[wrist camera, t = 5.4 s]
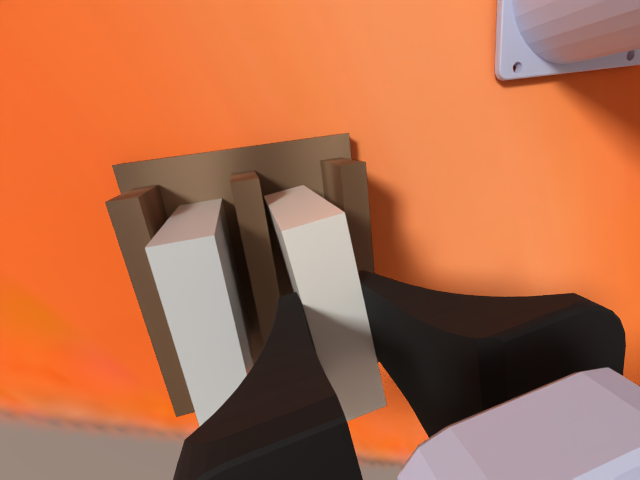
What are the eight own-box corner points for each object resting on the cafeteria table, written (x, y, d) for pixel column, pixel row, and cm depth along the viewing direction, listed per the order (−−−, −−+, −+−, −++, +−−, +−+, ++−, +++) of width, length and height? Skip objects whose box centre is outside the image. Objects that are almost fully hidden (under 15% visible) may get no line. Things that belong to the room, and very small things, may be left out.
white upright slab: (303, 184, 15) (344, 212, 9) (337, 318, 17) (386, 405, 12) (263, 195, 15) (281, 231, 9) (303, 330, 17) (337, 425, 11)
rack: (343, 133, 16) (376, 132, 12) (362, 330, 20) (392, 375, 16) (118, 163, 14) (77, 173, 11) (183, 375, 18) (170, 439, 14)
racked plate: (221, 198, 15) (214, 235, 9) (251, 333, 17) (259, 429, 12) (179, 205, 15) (144, 247, 9) (215, 342, 17) (205, 444, 11)
